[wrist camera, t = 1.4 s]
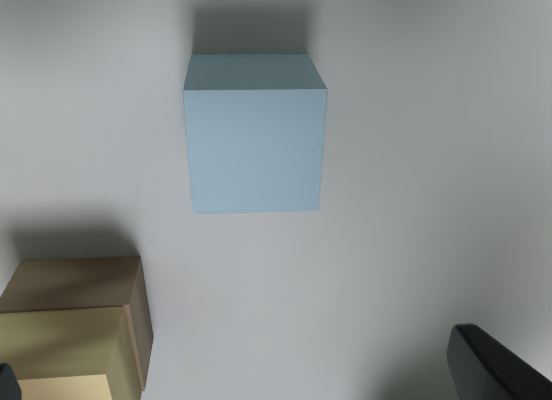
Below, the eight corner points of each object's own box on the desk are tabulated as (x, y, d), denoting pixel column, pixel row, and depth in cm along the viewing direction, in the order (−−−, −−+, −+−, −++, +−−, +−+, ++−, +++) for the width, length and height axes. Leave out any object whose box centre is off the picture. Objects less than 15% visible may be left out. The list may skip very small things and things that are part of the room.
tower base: (141, 254, 24) (128, 304, 21) (153, 336, 26) (144, 390, 23) (22, 259, 23) (-8, 311, 20) (48, 341, 26) (25, 398, 23)
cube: (307, 53, 19) (327, 89, 15) (301, 156, 22) (318, 210, 18) (191, 53, 19) (182, 90, 15) (198, 158, 21) (192, 214, 17)
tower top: (123, 306, 21) (105, 374, 18) (141, 392, 23) (129, 463, 20) (-13, 314, 20) (-55, 385, 17) (22, 400, 23) (-8, 474, 20)
